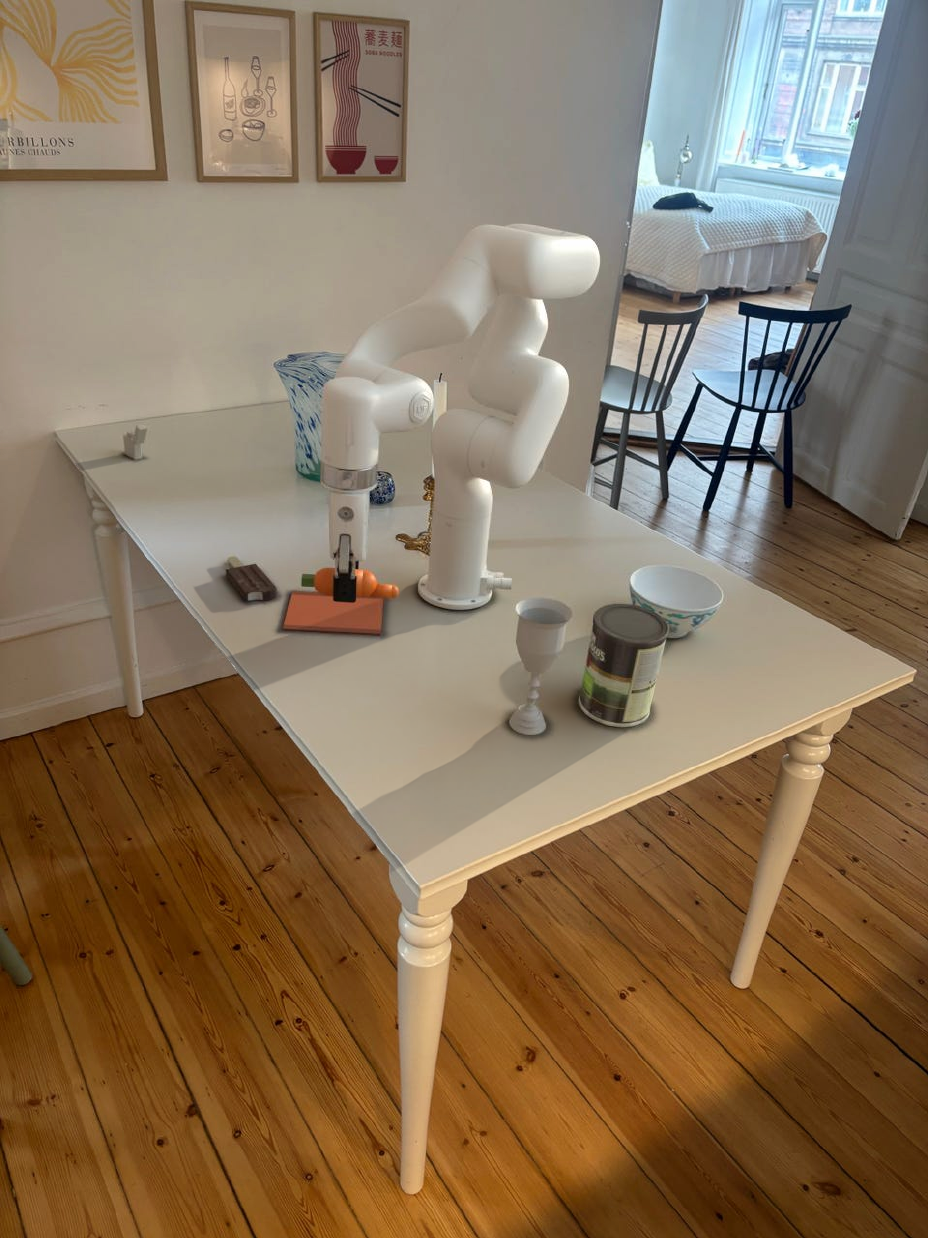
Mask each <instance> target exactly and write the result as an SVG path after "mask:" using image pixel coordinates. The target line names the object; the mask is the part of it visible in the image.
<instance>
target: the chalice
mask: <svg viewBox="0 0 928 1238" xmlns="http://www.w3.org/2000/svg"><path fill="white" fill-rule="evenodd" d="M515 611H516V613H517V616H518V621H517V628H516V636H515V644H516V649H517V652H518V655H519V658H520V660H521V662H522V664H523V667H524V669H525V671H526V672H528V673H530V678H529V680H528V681H527V683H526V684H527V685H528V690H527V691H526V692H525V693H524V695H525V697H526V699H527V700H526V701H527V702H526V703H524V704H522V705H520V706H518V707H517V708H516V709H515V711H514V713H513V714H512V715H511V717H510V718H509V721H508V723H509V726H510V728H511V729H512V730H514V731H515V732H516V733H519V734H522V735H525V736H535V735H539V734H542V733H543V732H544V731H546V729H547V723H546V721H545V717H544V715H543V711H542V710H541V709H540V707H538V706H537V705H535V701H536V699H537V698H539V693H538V692H537V688H538V687H539V686H540V684H541V683H540V681H539V676H540V675H542V674H544V673H546V672H547V671H548V669H549V668H550V667H551V666H552V665H553V664H554V662H555V661H556V659H557V658H558V656H559V655H560V653H561V652H562V650H563V648H564V644H565V638H566V631H567V624H568V622H569V621H570V620H571V619H572V618H573V611H572V608H571V607H569V606H568V605H567V604H566V603H563V602H561V601H559V600H556V599H552V598H547V597H530V598H525V599H523V600H521V601H518V603H517V604H516V606H515Z"/></svg>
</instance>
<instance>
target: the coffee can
mask: <svg viewBox="0 0 928 1238" xmlns="http://www.w3.org/2000/svg"><path fill="white" fill-rule="evenodd" d="M668 634H669V626H668V623H667V622H666V620H665V619H664V618H663V617H661V616H660V615H659V614H657V613H655V612H653V611H651V610H649V609H647V608H644V607H641V606H637V605H633V604H631V603H611V604H607V605H604V606H600V607H599V608H598V609H597V610H596V611H595V612H594V613H593V615H592V627H591V633H590V639H589V644H588V649H587V656H586V661H585V665H584V671H583V677H582V682H581V688H580V693H579V696H578V705H579V708H580V710H581V711H582V712H583V713H584V715H586V716H587V717H588V718H589V719H591V720H592V721H593V720H594V721H595V722H597V723H598V724H599V723H600V724H602V725H605V726H608V727H614V728H632V727H635V726H639V725H641V724H642V723H645V722H646V721H647V719H648V718H649V715H650V712H651V711H650V710H651V705H652V701H653V698H654V697H653V696H654V692H655V690H656V684H657V679H658V675H659V671H660V667H661V663H662V659H663V654H664V650H665V645H666V641H667V638H668V637H667V636H668Z"/></svg>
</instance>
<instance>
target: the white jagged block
mask: <svg viewBox="0 0 928 1238" xmlns="http://www.w3.org/2000/svg"><path fill="white" fill-rule="evenodd" d="M147 431H148V428H147V427H146V426H145V424H144V423H143V424H138V425H136V426H135V429H134V431H132V430H128V431H126V433H124V434H122V439H123V447H124V448H123V449H124V455H126V456H127V457H129V458H131V459H133V460H135V461H136V460H140V459H142V458H143V453H142V444H144V443H145V441H146V435H147Z"/></svg>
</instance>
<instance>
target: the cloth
mask: <svg viewBox="0 0 928 1238" xmlns="http://www.w3.org/2000/svg"><path fill="white" fill-rule="evenodd" d="M383 607H384V598H373V597H365V598H358V597H356V601H355V602H354V603H349V602H335V601H333V596H326V595H322V594H320V593H318V592H317V591H302V590H292V591H291V595H290V599H289V603H288V607H287V611H286V615H285V619H284V623H283V627H282V631H289V632H290V631H291V632H307V633H308V632H309V633H327V634H329V633H330V634H346V635H349V634H350V635H351V634H352V635H366V636H367V635H369V636H381V635H382V634H381V633H382V621H383V609H384V608H383Z"/></svg>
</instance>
